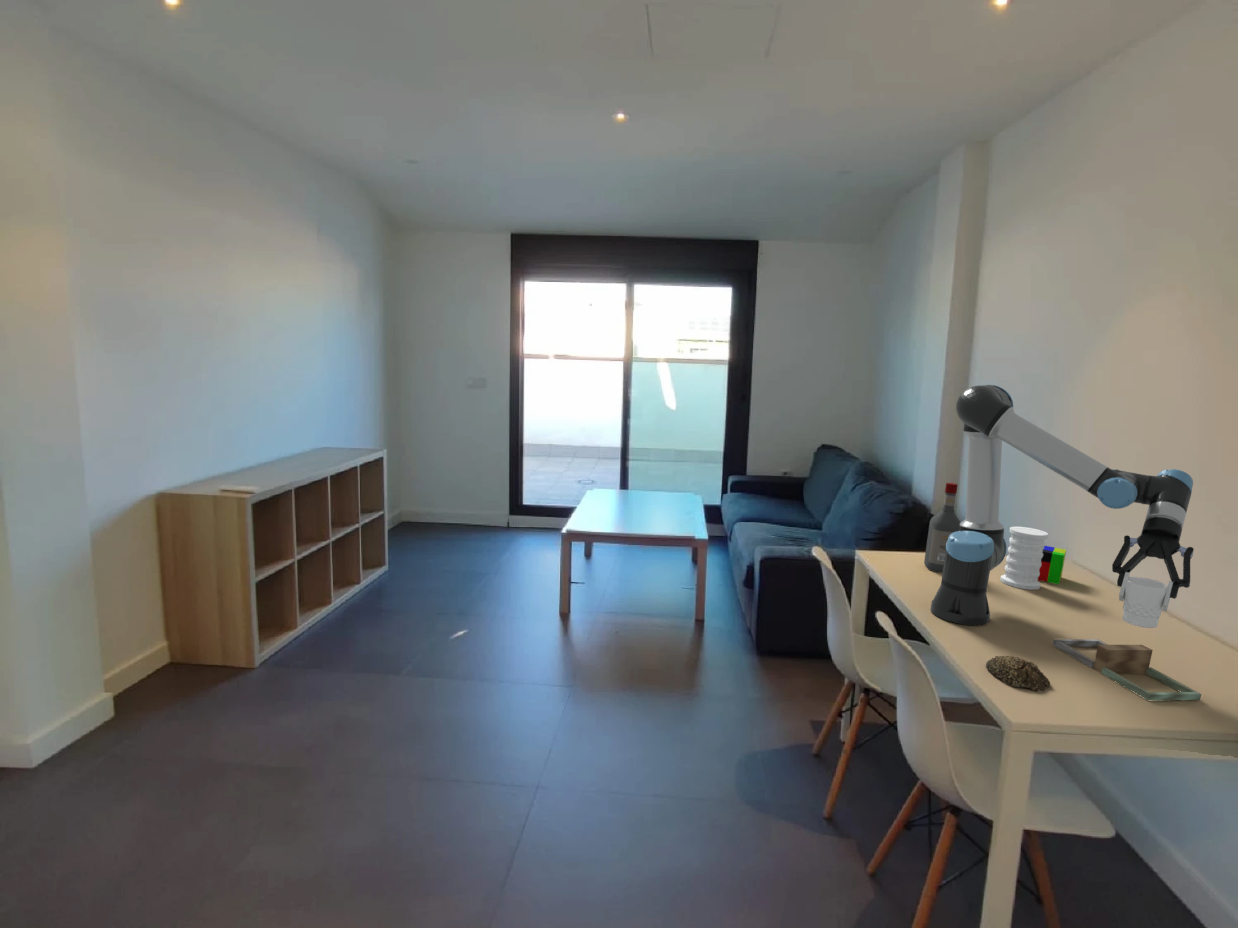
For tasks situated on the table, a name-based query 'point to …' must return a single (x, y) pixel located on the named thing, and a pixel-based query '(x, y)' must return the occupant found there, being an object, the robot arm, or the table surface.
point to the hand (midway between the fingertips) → (1142, 602)
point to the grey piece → (1126, 666)
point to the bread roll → (1017, 672)
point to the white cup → (1143, 601)
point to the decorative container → (1024, 558)
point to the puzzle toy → (1052, 564)
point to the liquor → (941, 531)
